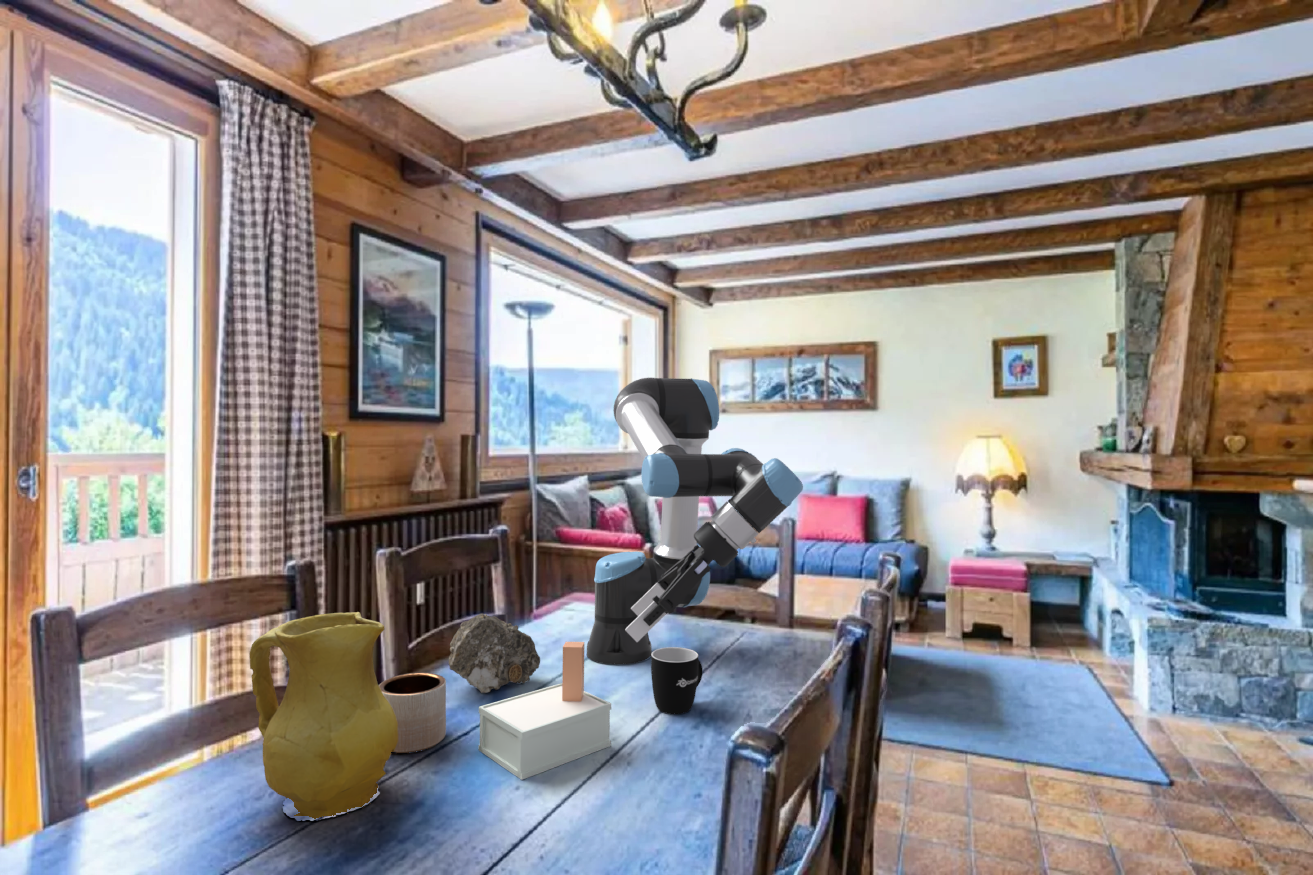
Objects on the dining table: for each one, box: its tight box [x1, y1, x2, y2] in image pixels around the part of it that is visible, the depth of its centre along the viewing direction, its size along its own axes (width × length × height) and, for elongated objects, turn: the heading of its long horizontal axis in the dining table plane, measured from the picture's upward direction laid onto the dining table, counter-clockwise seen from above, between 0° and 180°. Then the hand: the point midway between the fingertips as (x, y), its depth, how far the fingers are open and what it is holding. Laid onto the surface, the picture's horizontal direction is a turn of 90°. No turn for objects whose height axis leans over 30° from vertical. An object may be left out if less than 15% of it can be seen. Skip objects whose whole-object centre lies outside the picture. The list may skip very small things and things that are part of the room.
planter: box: [378, 672, 447, 754], centre depth 115 cm, size 11×11×10 cm
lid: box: [485, 641, 604, 731], centre depth 113 cm, size 16×12×10 cm
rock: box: [447, 613, 541, 694], centre depth 142 cm, size 18×14×15 cm
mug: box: [650, 646, 703, 715], centre depth 131 cm, size 12×9×10 cm
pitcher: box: [248, 611, 398, 819], centre depth 97 cm, size 17×19×25 cm
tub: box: [477, 682, 612, 781], centre depth 113 cm, size 17×13×7 cm
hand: (633, 624), depth 116 cm, fingers open, 13 cm apart
